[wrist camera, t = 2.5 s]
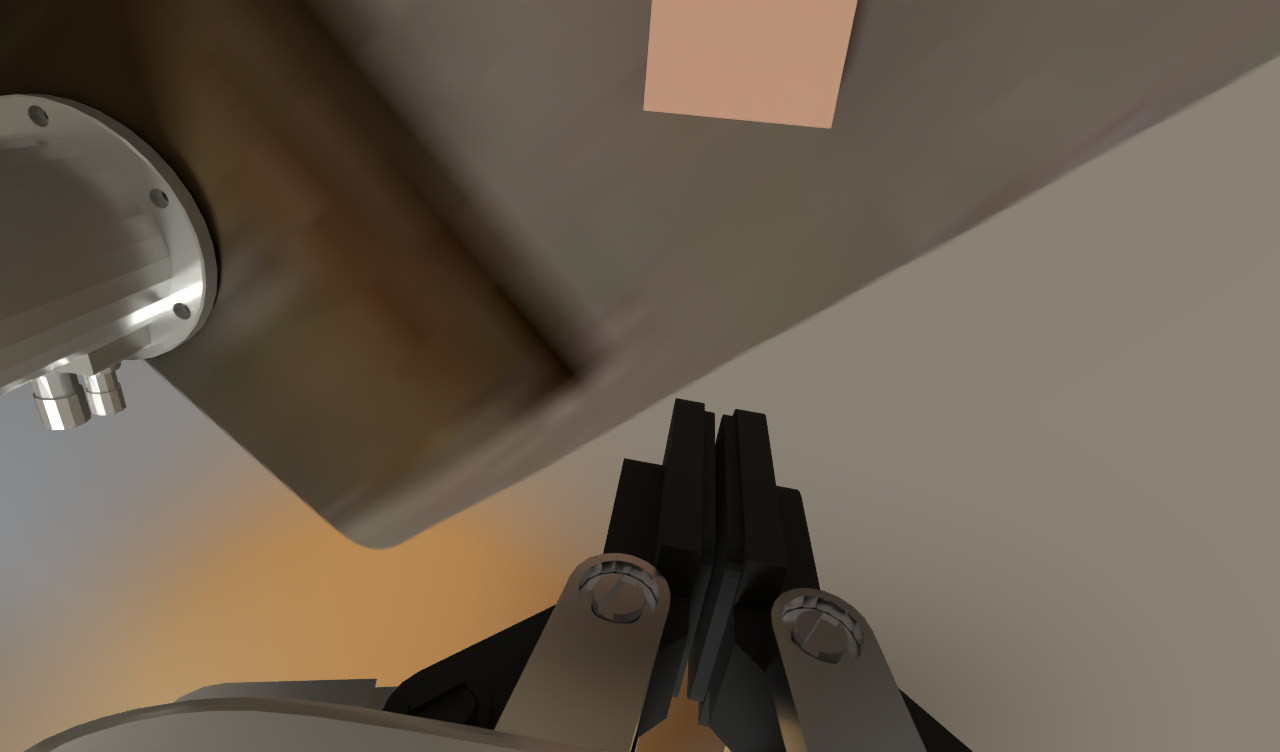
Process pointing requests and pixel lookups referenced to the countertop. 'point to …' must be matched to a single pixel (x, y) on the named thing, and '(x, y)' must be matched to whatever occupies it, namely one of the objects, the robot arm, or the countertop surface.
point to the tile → (748, 59)
